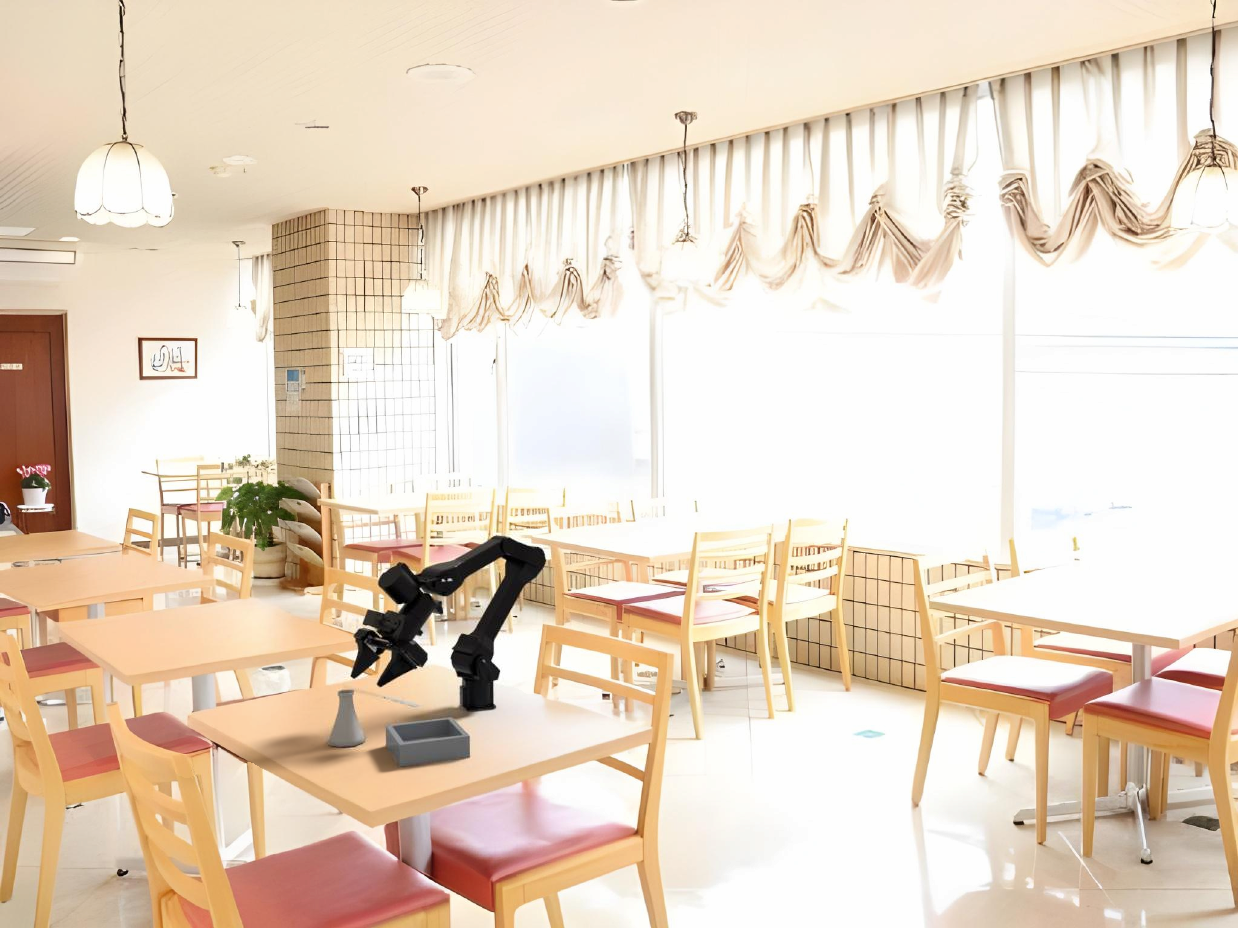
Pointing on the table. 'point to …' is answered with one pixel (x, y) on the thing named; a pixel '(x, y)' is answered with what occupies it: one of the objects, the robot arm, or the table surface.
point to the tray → (427, 741)
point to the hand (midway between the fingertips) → (365, 681)
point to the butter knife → (403, 701)
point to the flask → (346, 723)
